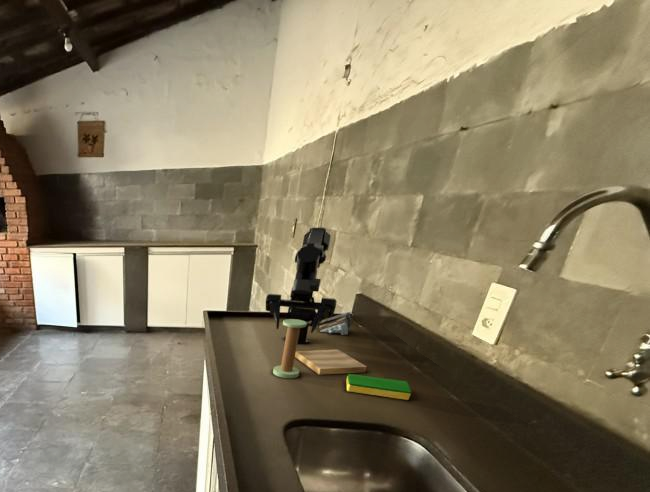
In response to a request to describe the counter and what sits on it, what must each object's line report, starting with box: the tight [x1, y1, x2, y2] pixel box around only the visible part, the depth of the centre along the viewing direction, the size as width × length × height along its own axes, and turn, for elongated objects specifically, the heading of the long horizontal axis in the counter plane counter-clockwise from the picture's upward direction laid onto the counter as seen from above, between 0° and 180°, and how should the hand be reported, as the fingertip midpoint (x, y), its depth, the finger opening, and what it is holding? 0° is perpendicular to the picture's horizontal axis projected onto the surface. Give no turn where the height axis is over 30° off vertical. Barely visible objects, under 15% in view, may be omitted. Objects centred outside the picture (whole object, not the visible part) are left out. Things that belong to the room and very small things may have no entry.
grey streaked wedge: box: [316, 311, 353, 336], centre depth 154 cm, size 10×7×12 cm
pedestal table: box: [272, 318, 307, 379], centre depth 117 cm, size 7×7×15 cm
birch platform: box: [295, 349, 368, 376], centre depth 126 cm, size 15×14×2 cm
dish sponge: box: [345, 373, 412, 401], centre depth 109 cm, size 7×14×2 cm, turn 65°
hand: (294, 330), depth 120 cm, fingers open, 9 cm apart
